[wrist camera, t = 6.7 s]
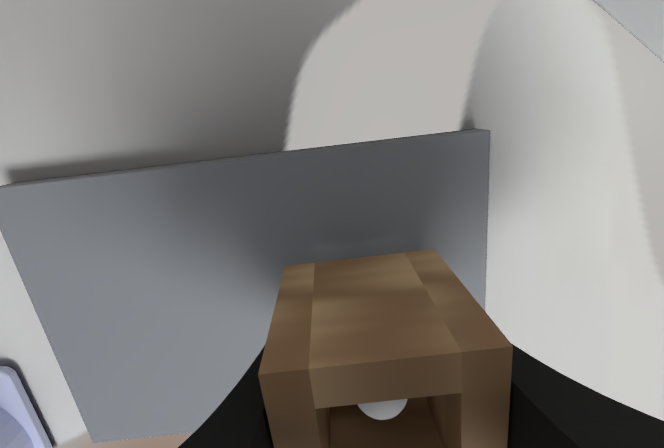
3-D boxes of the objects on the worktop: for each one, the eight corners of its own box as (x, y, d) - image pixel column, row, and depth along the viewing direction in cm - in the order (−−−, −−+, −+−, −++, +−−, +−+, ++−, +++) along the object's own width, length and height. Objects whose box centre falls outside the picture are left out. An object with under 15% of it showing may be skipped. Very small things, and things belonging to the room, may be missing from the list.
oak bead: (305, 385, 13) (295, 542, 8) (284, 266, 12) (257, 374, 7) (437, 371, 13) (502, 520, 8) (434, 248, 12) (512, 346, 7)
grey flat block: (108, 420, 17) (-20, 605, 11) (11, 183, 13) (-272, 249, 7) (471, 381, 17) (561, 546, 11) (476, 128, 13) (618, 146, 7)
